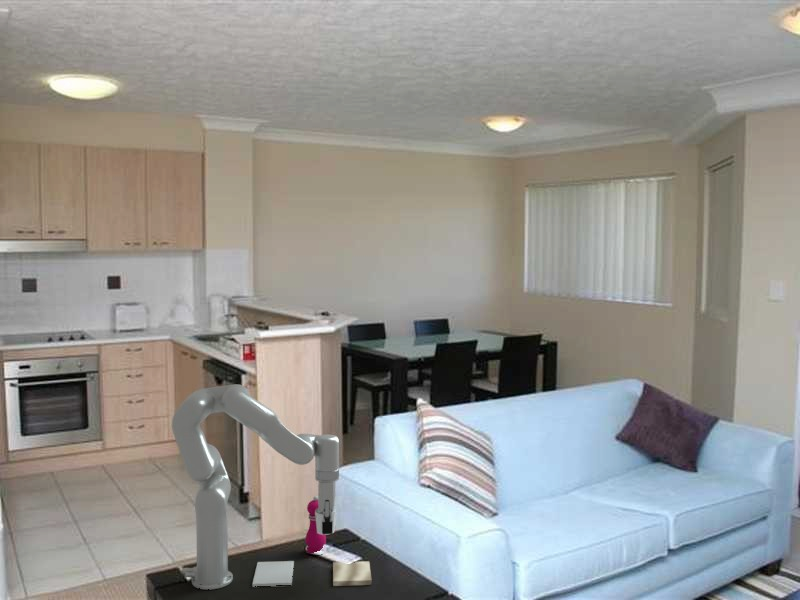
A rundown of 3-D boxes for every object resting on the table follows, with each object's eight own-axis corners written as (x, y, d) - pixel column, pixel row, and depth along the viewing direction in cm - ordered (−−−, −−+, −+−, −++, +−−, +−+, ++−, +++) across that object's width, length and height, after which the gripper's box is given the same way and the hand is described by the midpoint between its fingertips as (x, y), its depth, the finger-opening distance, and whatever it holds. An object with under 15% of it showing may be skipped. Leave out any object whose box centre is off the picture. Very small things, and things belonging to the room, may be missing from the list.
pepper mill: (330, 551, 253) (330, 495, 251) (317, 558, 246) (317, 500, 245) (314, 546, 256) (314, 491, 255) (300, 553, 250) (301, 496, 249)
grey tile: (252, 587, 225) (252, 583, 225) (257, 564, 241) (257, 562, 241) (291, 585, 226) (291, 582, 226) (294, 563, 242) (294, 561, 242)
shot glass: (333, 536, 227) (333, 514, 227) (312, 534, 229) (312, 513, 228) (339, 528, 234) (339, 507, 233) (318, 526, 235) (318, 505, 235)
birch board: (333, 586, 226) (333, 581, 226) (333, 566, 240) (333, 562, 240) (371, 584, 227) (371, 580, 227) (369, 565, 241) (369, 561, 241)
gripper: (315, 466, 238) (316, 520, 239) (314, 483, 221) (314, 540, 222) (338, 466, 239) (338, 519, 240) (339, 482, 222) (339, 540, 223)
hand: (327, 529), depth 231 cm, fingers closed on shot glass, 5 cm apart
